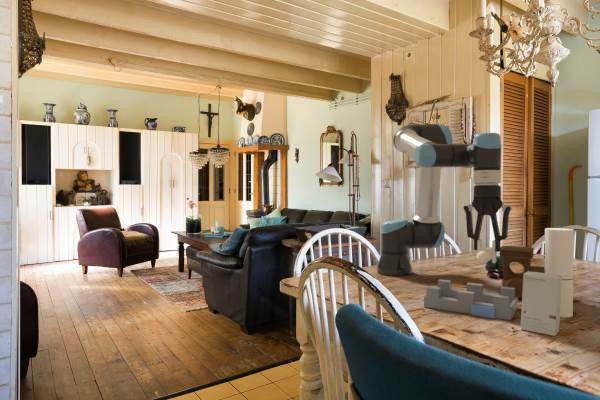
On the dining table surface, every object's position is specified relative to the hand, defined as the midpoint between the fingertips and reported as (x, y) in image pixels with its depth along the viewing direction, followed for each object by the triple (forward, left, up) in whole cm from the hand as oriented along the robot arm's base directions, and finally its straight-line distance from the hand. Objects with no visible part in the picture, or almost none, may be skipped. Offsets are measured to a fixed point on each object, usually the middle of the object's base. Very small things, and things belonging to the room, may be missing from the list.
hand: (486, 261), depth 126 cm
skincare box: (+15, -12, -15) cm, 25 cm away
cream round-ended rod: (0, 0, 0) cm, 0 cm away
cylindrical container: (+18, +7, -15) cm, 25 cm away
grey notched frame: (-5, 0, -15) cm, 16 cm away
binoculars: (-5, +51, -15) cm, 54 cm away
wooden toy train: (+10, +24, -15) cm, 30 cm away
